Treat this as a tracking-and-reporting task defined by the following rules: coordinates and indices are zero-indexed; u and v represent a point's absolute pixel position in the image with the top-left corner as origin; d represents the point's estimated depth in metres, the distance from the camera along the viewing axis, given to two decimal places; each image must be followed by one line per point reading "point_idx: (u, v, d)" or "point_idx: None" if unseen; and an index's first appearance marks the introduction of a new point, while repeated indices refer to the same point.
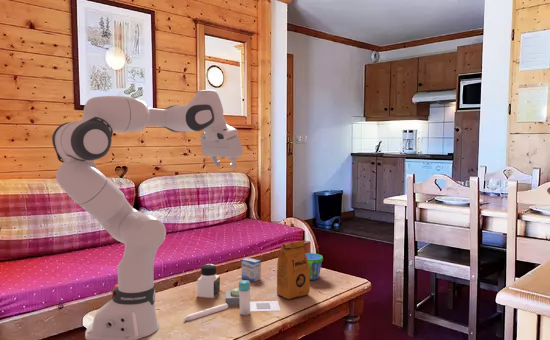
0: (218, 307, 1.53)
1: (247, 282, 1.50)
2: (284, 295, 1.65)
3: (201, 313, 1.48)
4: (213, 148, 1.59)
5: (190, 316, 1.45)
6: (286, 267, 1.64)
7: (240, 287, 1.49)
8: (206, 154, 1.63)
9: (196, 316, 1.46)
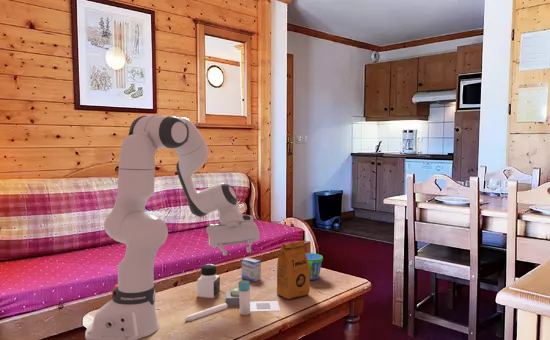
0: (218, 307, 1.53)
1: (247, 282, 1.50)
2: (284, 295, 1.65)
3: (201, 313, 1.48)
4: (229, 233, 1.65)
5: (191, 316, 1.45)
6: (286, 267, 1.64)
7: (240, 287, 1.49)
8: (216, 241, 1.62)
9: (196, 316, 1.46)
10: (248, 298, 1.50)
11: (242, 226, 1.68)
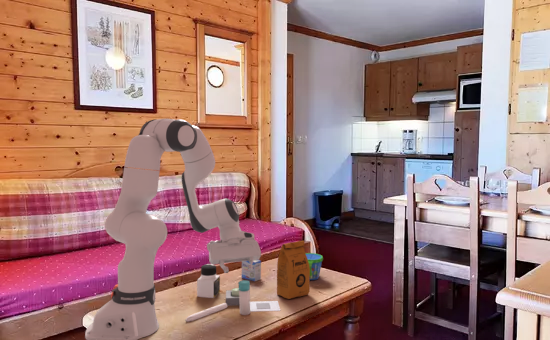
0: (218, 307, 1.53)
1: (247, 282, 1.50)
2: (284, 295, 1.65)
3: (202, 313, 1.48)
4: (230, 250, 1.61)
5: (191, 317, 1.45)
6: (286, 267, 1.64)
7: (240, 287, 1.49)
8: (217, 257, 1.58)
9: (197, 316, 1.46)
10: (248, 298, 1.50)
11: (243, 243, 1.65)
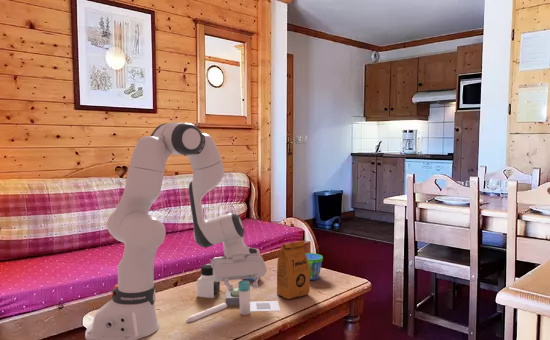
0: (218, 307, 1.53)
1: (247, 282, 1.50)
2: (284, 295, 1.65)
3: (202, 314, 1.47)
4: (234, 267, 1.56)
5: (192, 317, 1.44)
6: (286, 267, 1.64)
7: (240, 287, 1.49)
8: (221, 275, 1.52)
9: (198, 317, 1.46)
10: (248, 298, 1.50)
11: (248, 260, 1.59)
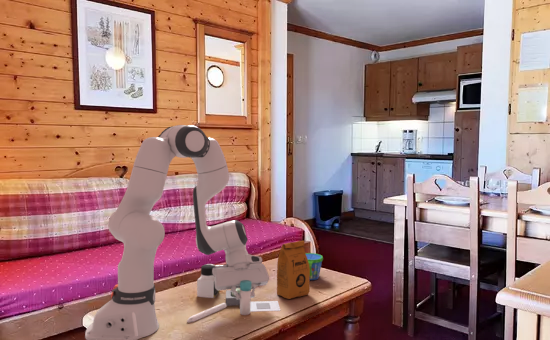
0: (218, 307, 1.53)
1: (248, 282, 1.50)
2: (284, 295, 1.65)
3: (203, 314, 1.47)
4: (236, 275, 1.53)
5: (193, 317, 1.44)
6: (286, 267, 1.64)
7: (241, 287, 1.49)
8: (223, 284, 1.50)
9: (198, 317, 1.46)
10: (249, 298, 1.50)
11: (250, 268, 1.57)
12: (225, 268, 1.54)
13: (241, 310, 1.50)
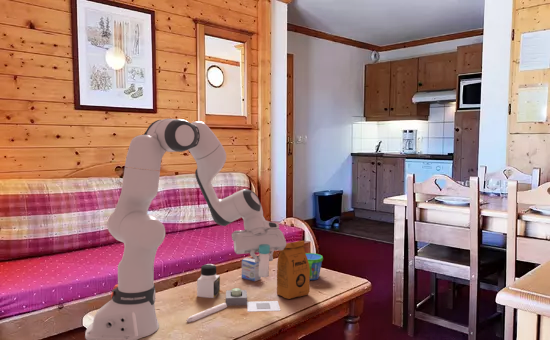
0: (218, 307, 1.53)
1: (267, 245, 1.55)
2: (284, 295, 1.65)
3: (202, 314, 1.47)
4: (255, 240, 1.59)
5: (192, 317, 1.44)
6: (286, 267, 1.64)
7: (260, 250, 1.54)
8: (243, 247, 1.55)
9: (198, 317, 1.46)
10: (268, 261, 1.55)
11: (268, 233, 1.62)
12: (244, 233, 1.60)
13: (260, 272, 1.55)
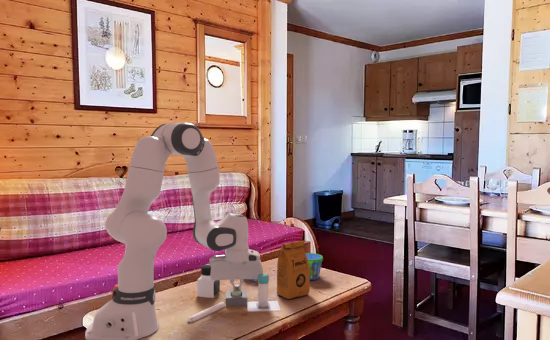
0: (216, 306, 1.54)
1: (266, 275, 1.57)
2: (284, 295, 1.65)
3: (202, 313, 1.48)
4: (231, 271, 1.60)
5: (193, 317, 1.44)
6: (286, 267, 1.64)
7: (259, 280, 1.56)
8: (217, 278, 1.59)
9: (198, 317, 1.46)
10: (267, 291, 1.56)
11: (246, 264, 1.60)
12: (221, 262, 1.59)
13: (259, 303, 1.56)
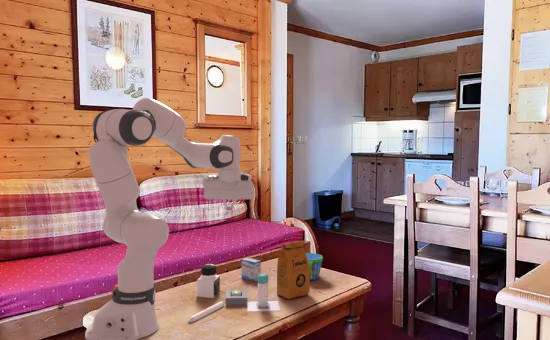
0: (216, 306, 1.54)
1: (265, 275, 1.57)
2: (284, 295, 1.65)
3: (203, 313, 1.48)
4: (224, 190, 1.66)
5: (194, 317, 1.44)
6: (286, 267, 1.64)
7: (258, 279, 1.56)
8: (210, 197, 1.65)
9: (199, 317, 1.46)
10: (266, 291, 1.56)
11: (238, 185, 1.66)
12: (214, 182, 1.65)
13: (259, 302, 1.56)
